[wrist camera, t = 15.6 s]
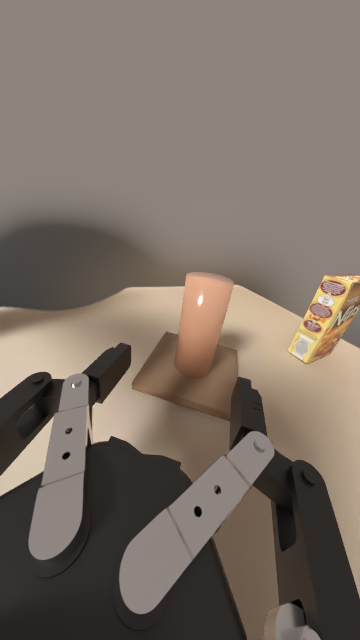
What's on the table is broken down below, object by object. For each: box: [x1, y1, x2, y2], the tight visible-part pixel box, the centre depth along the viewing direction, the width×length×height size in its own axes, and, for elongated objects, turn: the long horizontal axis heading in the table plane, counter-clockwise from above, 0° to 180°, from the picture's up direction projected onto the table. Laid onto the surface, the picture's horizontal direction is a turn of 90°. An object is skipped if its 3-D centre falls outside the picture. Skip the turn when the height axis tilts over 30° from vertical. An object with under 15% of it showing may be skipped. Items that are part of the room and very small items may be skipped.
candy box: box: [288, 274, 360, 363], centre depth 33 cm, size 9×4×15 cm, turn 118°
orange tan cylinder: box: [174, 272, 234, 378], centre depth 24 cm, size 6×6×13 cm
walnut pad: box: [132, 332, 237, 421], centre depth 28 cm, size 13×13×1 cm
